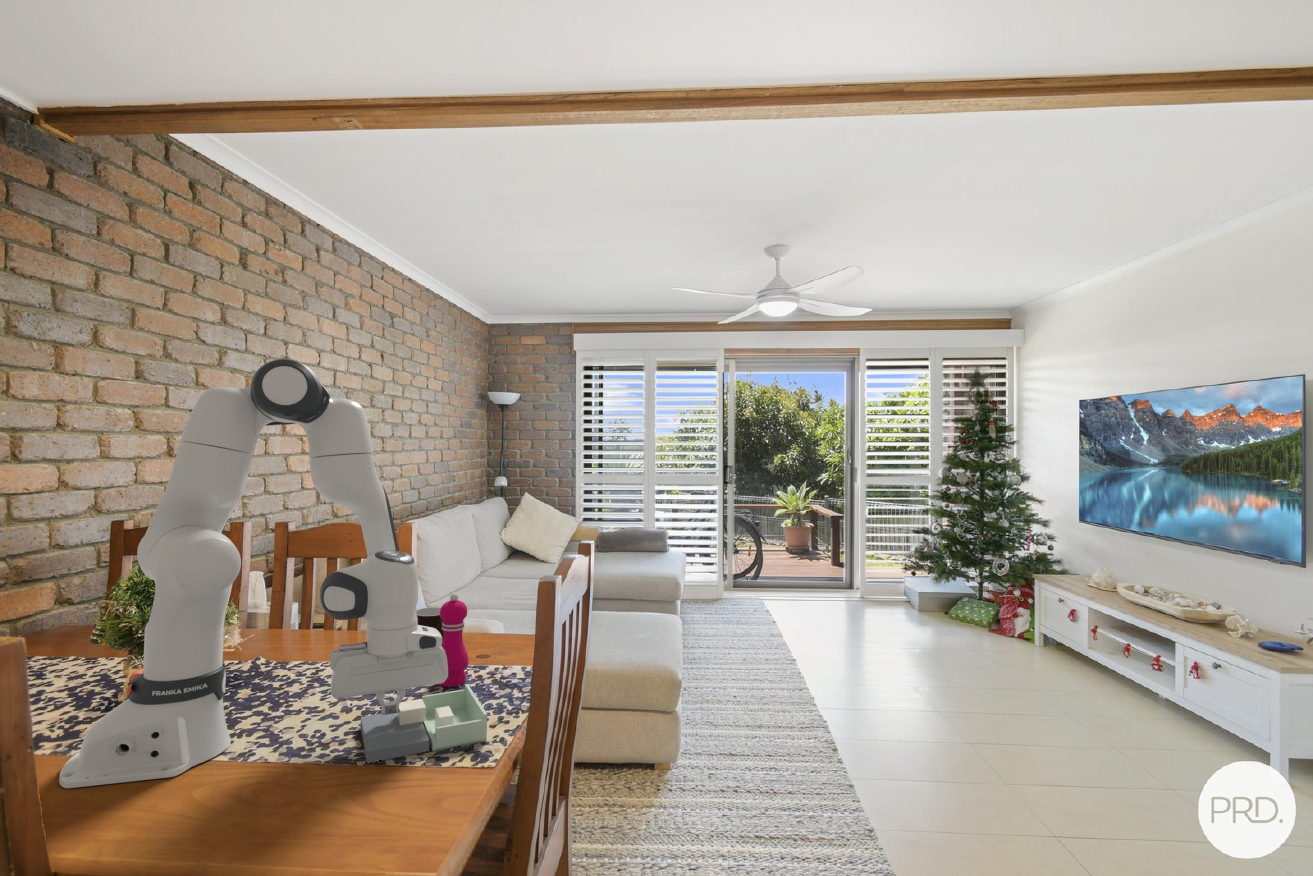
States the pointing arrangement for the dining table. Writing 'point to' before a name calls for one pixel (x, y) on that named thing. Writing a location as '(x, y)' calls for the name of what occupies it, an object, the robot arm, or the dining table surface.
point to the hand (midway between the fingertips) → (390, 713)
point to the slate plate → (391, 737)
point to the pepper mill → (454, 640)
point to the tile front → (443, 717)
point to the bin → (455, 719)
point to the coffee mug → (430, 618)
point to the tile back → (411, 712)
